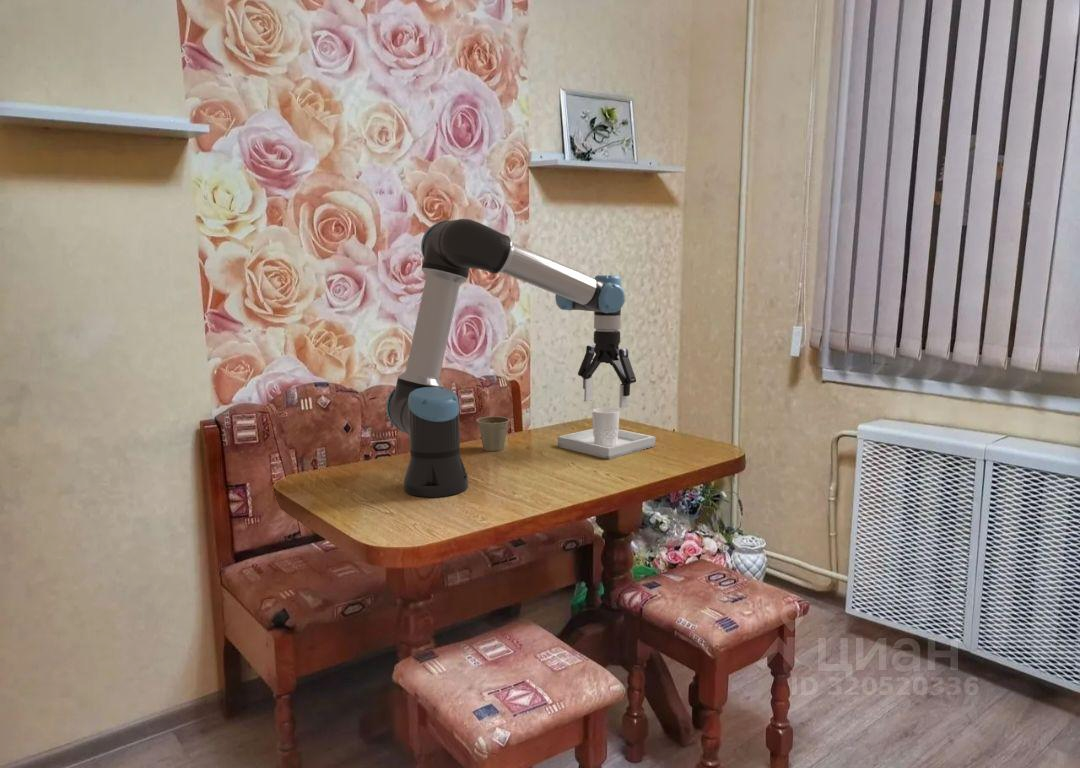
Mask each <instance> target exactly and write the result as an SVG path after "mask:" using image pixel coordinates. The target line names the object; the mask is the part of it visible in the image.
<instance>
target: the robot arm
mask: <svg viewBox="0 0 1080 768" xmlns="http://www.w3.org/2000/svg"><path fill="white" fill-rule="evenodd" d="M420 243H421V244H420V250H421V254H422V257H423V260H422V265H421V271H422V272H423V274H424V276H425V281H424V285H423V289H422V294H421V300H420V305H419V308H418V313H417V316H416V317H417V318H416V321H415V322H416V323H415V327H414V331H413V335H412V341H411V345H410V350H409V353H408V358H407V363H406V368H405V371H404V372H403V373H401V374H399V375H397V380H396V385H395V388H394V389H393V390H391V392H390V393H389V395H388V397H387V399H386V405H385V411H386V415H387V418H388V419H389V421H390V422H391V424H393V426H394V427H395V428H396V429H397V430H399V431H401V432H402V433H405V434H407V435H409V450H410V451H409V452H410V454H409V455H410V458H409V462H408V465H407V469H406V473H405V477H404V479H403V488H404V489H403V491H404V492H405V493H407V494H409V495H411V496H414V497H422V498H441V497H447V496H453V495H458V494H461V493H462V492H465V491H466V490H467V489H468V488H469V478H468V477H469V476H468V475H467V471H466V469H465V465H464V463H463V460H462V457H461V448H460V447H461V444H460V443H461V442H460V441H461V440H460V438H461V437H460V408H461V407H460V404H459V397H458V396H457V393H456V392H454V391H453V390H451V389H449V388H444V387H445V385H444V384H443V382H442V381H441V379H440V377H441V372H442V367H443V362H444V358H445V354H446V350H447V349H446V348H447V345H448V340H449V336H450V331H451V327H452V323H453V318H454V314H455V308H456V304H457V300H458V295H459V290H460V286H461V285H462V284H463V283H465V282H467V281H468V278H469V275H470V270H471V269H473V270H481V271H486V272H487V273H488V272H489V273H491V274H493V275H497V274H499V273H502V274H505V275H507V276H509V277H511V278H515V279H516V280H520V281H522V282H525V283H528V284H530V285H532V286H535V287H537V288H539V289H542V290H545V291H547V292H550V293H553V294H555V298H554V299H555V303H556V305H557V307H558V308H559V309H560V310H563V311H585V312H586V311H587V312H593V329H595V330H594V332H593V343H594V344H595V345H593V344H591V345H586V347H585V354H584V357H583V359H582V362H581V365H580V367H579V370H578V371H577V375H578V376H579V377H582V383H583V384H582V386H583V387H582V388H583V391H584V397H583V398H584V402H591V401H593V397H594V396H593V395H594V393H593V389H594V378H593V374H594V372H595V371H596V370H597V369H598V368H599V366H600V365H601V364H602V363H603V364H604V363H605V364H609V365H610V366H611V367H612V368H613V369H614V372H615V373H616V375H617V377H618V378H619V380H620V382H621V384H619V405H618V407H619V408H621V409H623V408H628V406H629V404H628V403H629V396H630V393H631V391H630V390H631V385H632V384H634V383H636V382H637V379H636V376H635V373H634V369H633V367H632V366H633V365H632V363H631V360H630V358H629V350H628V348H619V345H620V344H621V332H620V330H621V317H622V308H623V306H624V304H625V300H626V295H625V291H624V289H623V288H622V279H621V276H619V275H617V274H616V275H613V274H612V275H607V274H606V275H603V274H602V275H601V274H600V275H599V274H597V275H595V276H594V277H592V276H590V275H588V274H585V273H584V272H581V271H579V270H576V269H574V268H573V267H570V266H567V265H565V264H563V263H560V262H558V261H556V260H553V259H551V258H549V257H546V256H544V255H542V254H540V253H537V252H535V251H533V250H530V249H528V248H526V247H523V246H521V245H519V244H517V243H514V242H513V241H512V238H511V237H510V236H509V235H507V234H505V233H502V232H500V231H498V230H496V229H493V228H491V227H489V226H487V225H485V224H484V223H483V224H482V223H481V222H478V221H476V220H472V219H469V218H459V219H453V220H442V221H439V222H436V223H435V224H433V225H432V226H430V227H429V228H428V229H426V231H425V232H424V234H423V236H422V239H421V242H420ZM595 373H596V372H595Z"/></svg>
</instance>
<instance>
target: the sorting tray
mask: <svg viewBox="0 0 1080 768" xmlns="http://www.w3.org/2000/svg"><path fill="white" fill-rule="evenodd" d="M653 446H655V447H656V436H653V435H648V434H645V433H644V434H643V433H639V432H634V431H630V430H624V429H618V444H617V445H615V446H610V447H605V446H601V445H596V444H594V435H593V428H589V429H586V430H581V431H577V432H573V433H568V434H562V435H560V436H559V435H558V436H557V447H559V448H562V449H566V450H570V451H574V452H578V453H581V454H587V455H590V456H594V457H598V458H602V459H606V460H612V459H614V458H615V459H616V458H619V457H623V456H626V454H627V455H630V454H629V453H631V454H633V452H634V453H638V452H641V451H640V450H642V451H644V450H643V449H645V450H647V449H646V448H649V449H651V448H650V447H653ZM653 448H654V447H653ZM637 451H638V452H637Z"/></svg>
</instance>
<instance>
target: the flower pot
mask: <svg viewBox="0 0 1080 768" xmlns="http://www.w3.org/2000/svg"><path fill="white" fill-rule="evenodd" d="M510 421H511V420H510V418H508V417H504V416H497V415H496V416H483V417H479V418H477V419H476V423H477V424H478V425H477V426H478V427H479V430H480V431H479V432H480V439H481V444H482V449H483V450H484V451H486V452H495V451H499V452H501V451H503V450H505V448H506V447H505V446H506V445H505V444H506V436H507V430H508V429H507V428H508V426H509V423H510Z"/></svg>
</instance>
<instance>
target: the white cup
mask: <svg viewBox="0 0 1080 768" xmlns="http://www.w3.org/2000/svg"><path fill="white" fill-rule="evenodd" d="M591 412H592V413H591V414H592V416H591V417H592V429H593V435H594V444H596V445H601V446H605V447H610V446H615V445H617V444H618V429H619V428H620V412H621V411H620V409H618V408H614V407H597V408H594V409H592V411H591Z"/></svg>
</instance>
